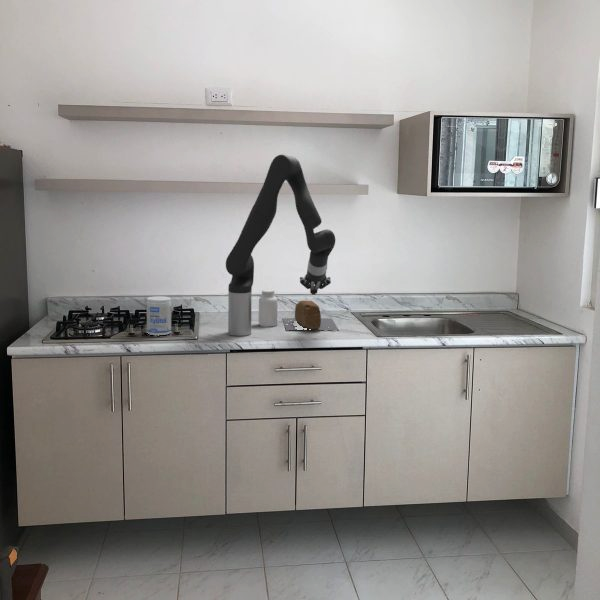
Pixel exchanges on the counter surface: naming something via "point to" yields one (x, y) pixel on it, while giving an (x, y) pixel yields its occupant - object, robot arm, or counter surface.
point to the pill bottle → (268, 309)
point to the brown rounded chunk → (308, 315)
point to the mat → (324, 326)
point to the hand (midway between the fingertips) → (313, 292)
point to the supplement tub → (158, 315)
